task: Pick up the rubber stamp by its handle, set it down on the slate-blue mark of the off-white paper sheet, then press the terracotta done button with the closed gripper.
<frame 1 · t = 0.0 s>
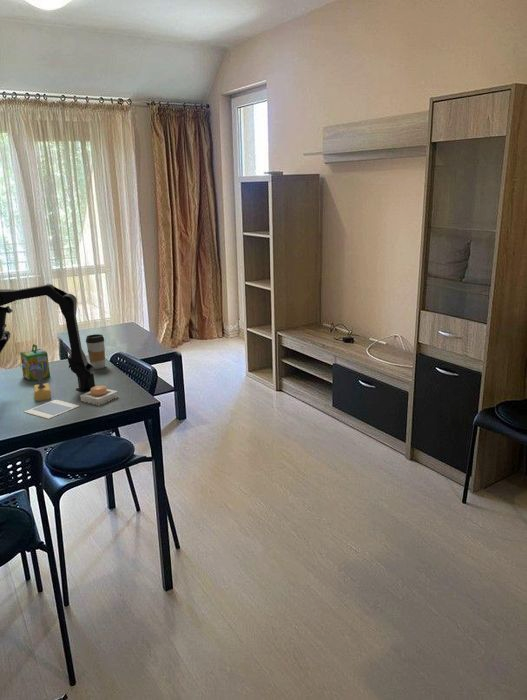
rubber stamp: (43, 396, 217), on the table
coffee cup: (98, 367, 253), on the table
chalk box: (37, 377, 242), on the table
button housing: (99, 399, 211), on the table
paper sheet: (52, 409, 202), on the table
done button: (98, 391, 210), point 3 cm above the table, slide at 0.0 cm
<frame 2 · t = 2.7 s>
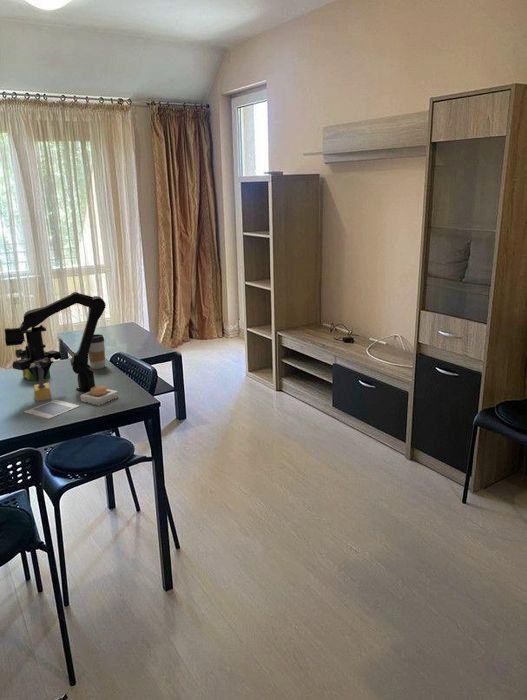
hand: (40, 380, 215), 7 cm above the table, tool pointing down, fingers closed on rubber stamp, 3 cm apart
rubber stamp: (43, 396, 217), on the table, touching gripper
everything else where it was.
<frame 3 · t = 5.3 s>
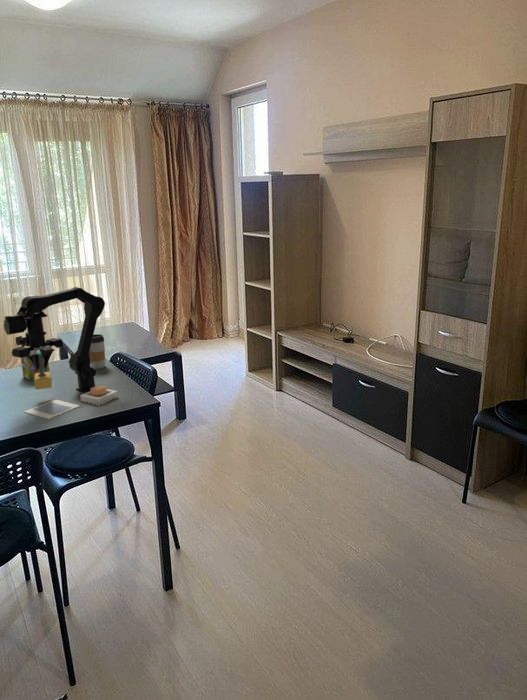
hand: (41, 368, 208), 13 cm above the table, tool pointing down, fingers closed on rubber stamp, 3 cm apart
rubber stamp: (43, 385, 210), point 6 cm above the table, touching gripper
everything else where it was.
when the fingers open (8 cm above the table, at t = 8.0 s): rubber stamp stays where it is, resting on paper sheet.
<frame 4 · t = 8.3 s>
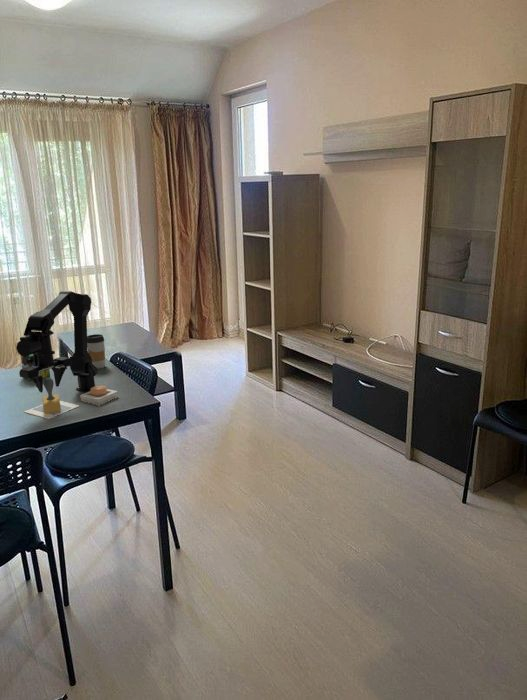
hand: (49, 389, 200), 8 cm above the table, tool pointing down, fingers open, 7 cm apart
rubber stamp: (52, 408, 202), resting on paper sheet
everything else where it was.
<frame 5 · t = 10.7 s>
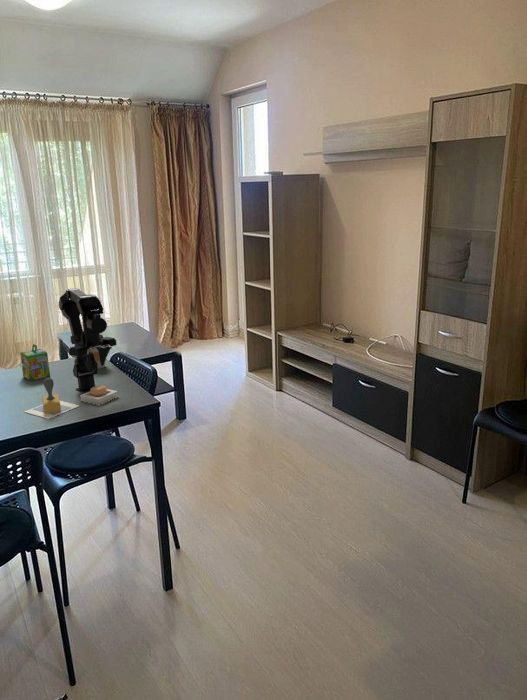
hand: (95, 367, 208), 13 cm above the table, tool pointing down, fingers open, 6 cm apart
nothing on the table moved.
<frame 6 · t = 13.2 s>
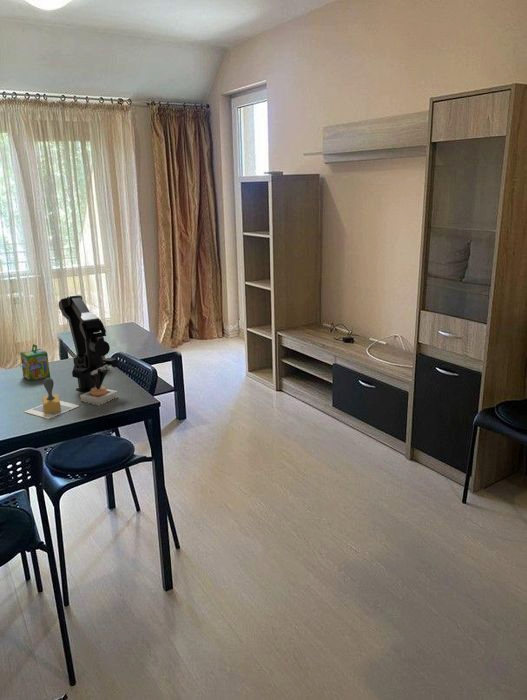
hand: (98, 388, 210), 4 cm above the table, tool pointing down, fingers closed, pressing on done button
done button: (98, 391, 211), point 3 cm above the table, slide at 0.2 cm, touching gripper
everything else where it was.
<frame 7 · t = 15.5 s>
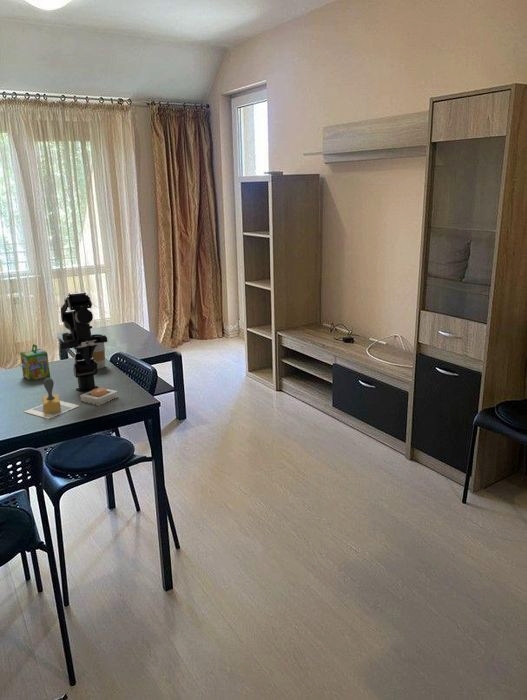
hand: (88, 363, 212), 13 cm above the table, tool pointing down, fingers closed
done button: (99, 393, 211), point 2 cm above the table, slide at 0.9 cm
everything else where it was.
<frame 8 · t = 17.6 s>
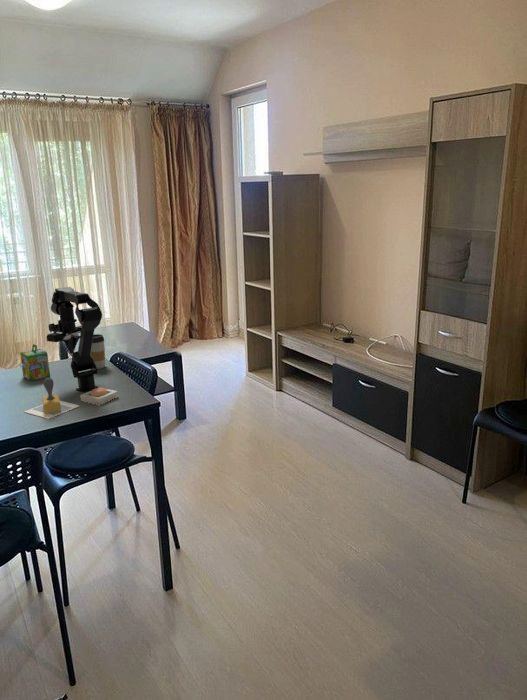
hand: (71, 353, 229), 13 cm above the table, tool pointing down, fingers closed
nothing on the table moved.
at the end: rubber stamp 0.1 cm off-centre on the paper sheet, point 0.2 cm above the paper sheet's base; rubber stamp tilted 0°; done button slide at 0.9 cm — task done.
